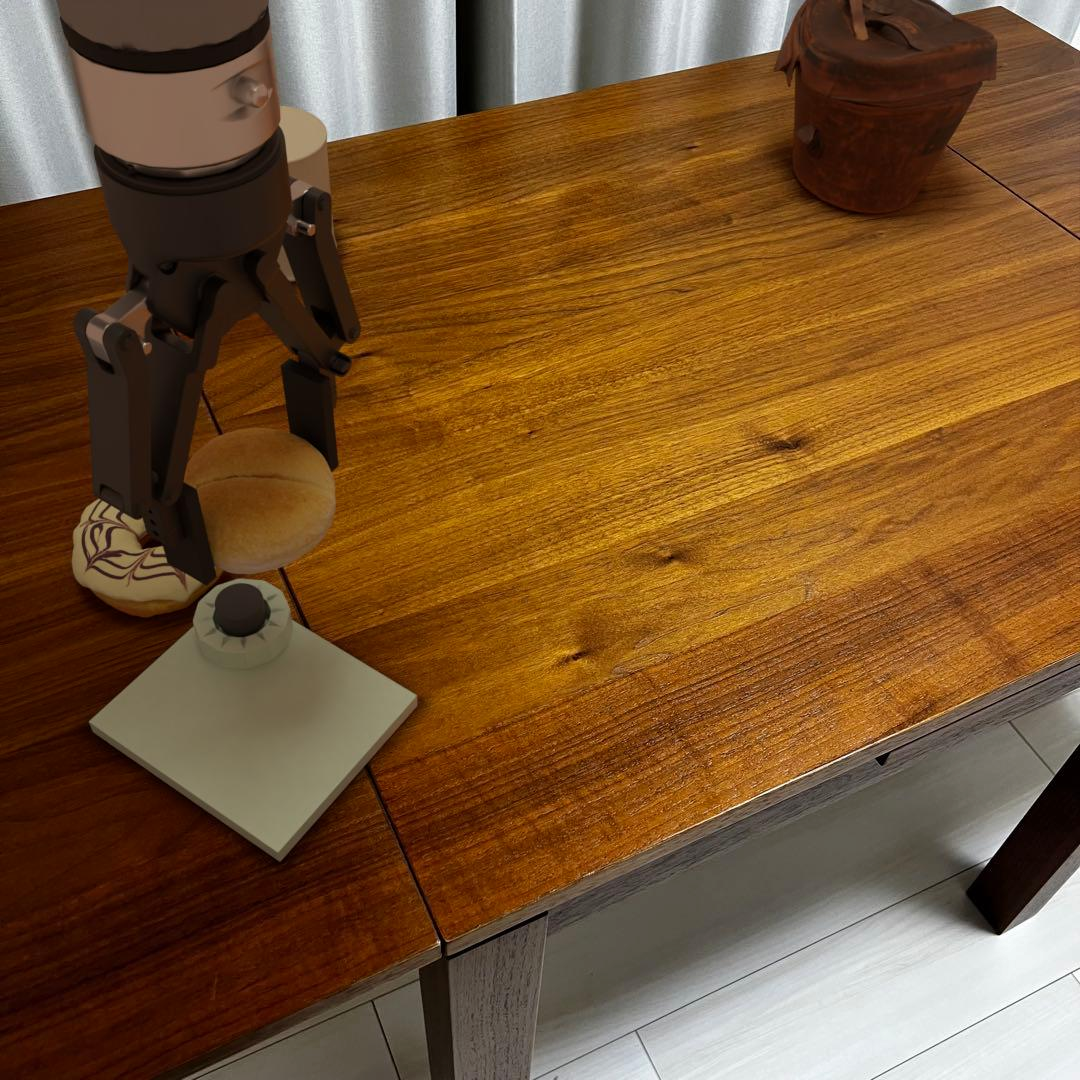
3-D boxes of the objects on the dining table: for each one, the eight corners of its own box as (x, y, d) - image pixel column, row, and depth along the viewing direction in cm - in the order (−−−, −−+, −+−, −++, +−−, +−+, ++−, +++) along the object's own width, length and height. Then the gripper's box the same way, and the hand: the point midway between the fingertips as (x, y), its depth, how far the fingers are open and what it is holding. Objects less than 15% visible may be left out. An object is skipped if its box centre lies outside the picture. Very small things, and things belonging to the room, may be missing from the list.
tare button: (208, 622, 76) (204, 605, 74) (241, 592, 77) (237, 575, 76) (244, 644, 75) (240, 627, 73) (276, 613, 76) (273, 596, 75)
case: (785, 111, 128) (824, -62, 114) (969, 164, 123) (1033, -11, 109) (728, 191, 117) (764, 10, 104) (927, 253, 112) (993, 71, 99)
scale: (92, 732, 73) (81, 705, 71) (244, 593, 81) (238, 564, 78) (280, 862, 68) (274, 837, 66) (422, 701, 76) (421, 674, 74)
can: (211, 245, 106) (190, 121, 97) (298, 210, 111) (285, 87, 102) (270, 296, 102) (253, 171, 93) (358, 257, 106) (350, 134, 97)
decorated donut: (55, 612, 79) (40, 576, 76) (114, 495, 86) (102, 458, 83) (210, 633, 78) (201, 597, 75) (256, 514, 85) (249, 477, 83)
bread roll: (169, 582, 61) (154, 530, 58) (195, 459, 67) (183, 406, 64) (331, 582, 62) (325, 531, 59) (343, 460, 68) (337, 407, 65)
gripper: (41, 301, 40) (162, 683, 57) (426, 56, 53) (432, 427, 70) (-108, 223, 42) (50, 612, 59) (294, 7, 55) (331, 377, 72)
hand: (256, 512), depth 64 cm, fingers closed on bread roll, 9 cm apart
